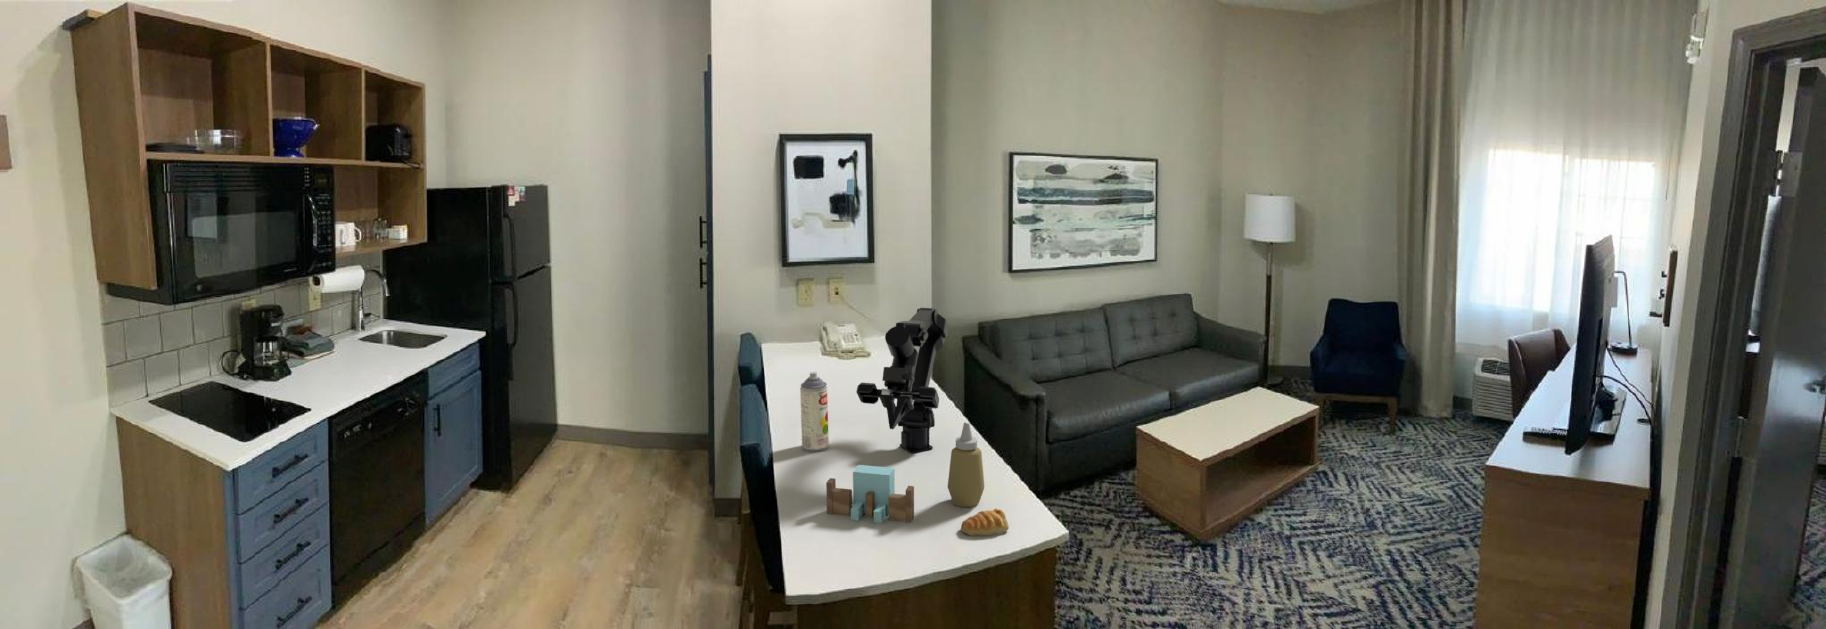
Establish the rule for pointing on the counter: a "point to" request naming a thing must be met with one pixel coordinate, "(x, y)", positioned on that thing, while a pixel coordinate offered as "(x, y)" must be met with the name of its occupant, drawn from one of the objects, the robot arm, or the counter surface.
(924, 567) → the counter surface
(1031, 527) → the counter surface
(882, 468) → the pale blue brick
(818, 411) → the aerosol can
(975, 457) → the squeeze bottle
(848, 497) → the rail
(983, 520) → the pastry
